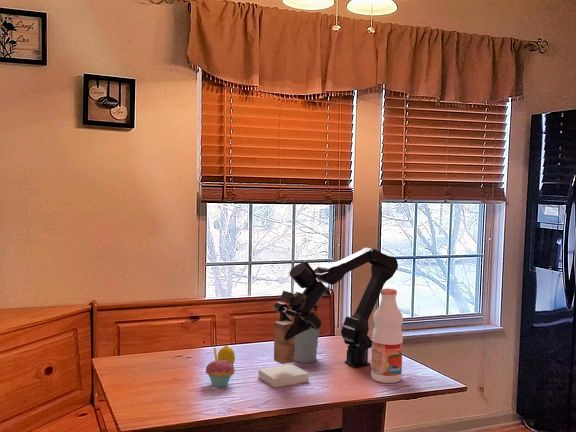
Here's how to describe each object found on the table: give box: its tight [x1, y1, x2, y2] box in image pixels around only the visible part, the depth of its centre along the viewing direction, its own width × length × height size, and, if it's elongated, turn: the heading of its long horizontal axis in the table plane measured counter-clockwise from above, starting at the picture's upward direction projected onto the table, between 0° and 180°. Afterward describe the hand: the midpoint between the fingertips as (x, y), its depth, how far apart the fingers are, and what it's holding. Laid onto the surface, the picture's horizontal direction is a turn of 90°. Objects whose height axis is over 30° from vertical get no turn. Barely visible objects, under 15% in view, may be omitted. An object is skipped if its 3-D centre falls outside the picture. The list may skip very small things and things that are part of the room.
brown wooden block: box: [273, 320, 295, 365], centre depth 179 cm, size 4×4×12 cm
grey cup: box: [292, 321, 321, 364], centre depth 201 cm, size 10×10×12 cm
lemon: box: [217, 345, 236, 365], centre depth 187 cm, size 6×6×8 cm
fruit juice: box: [370, 288, 404, 384], centre depth 182 cm, size 9×9×28 cm
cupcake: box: [205, 345, 236, 388], centre depth 174 cm, size 9×8×12 cm
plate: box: [258, 363, 310, 388], centre depth 180 cm, size 12×10×2 cm
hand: (280, 337), depth 178 cm, fingers closed on brown wooden block, 4 cm apart
